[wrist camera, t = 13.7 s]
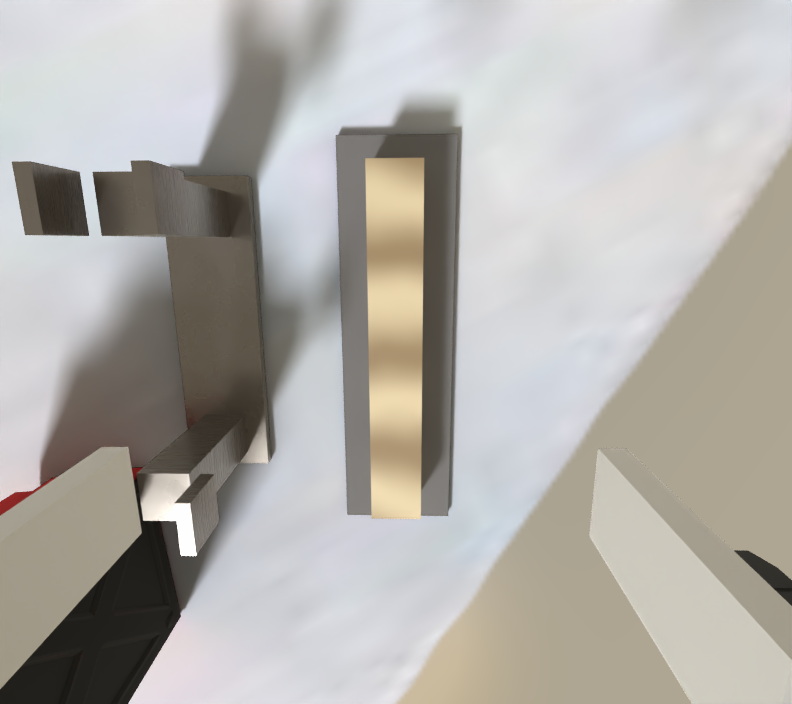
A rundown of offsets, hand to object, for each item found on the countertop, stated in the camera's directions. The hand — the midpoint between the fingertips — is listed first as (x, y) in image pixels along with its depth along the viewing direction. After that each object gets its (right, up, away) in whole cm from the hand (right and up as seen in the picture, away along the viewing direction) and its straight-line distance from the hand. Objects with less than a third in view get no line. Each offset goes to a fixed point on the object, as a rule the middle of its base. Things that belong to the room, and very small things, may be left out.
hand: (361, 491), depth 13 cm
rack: (-12, +6, +21) cm, 25 cm away
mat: (+1, +5, +21) cm, 22 cm away
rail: (+1, +5, +21) cm, 21 cm away
